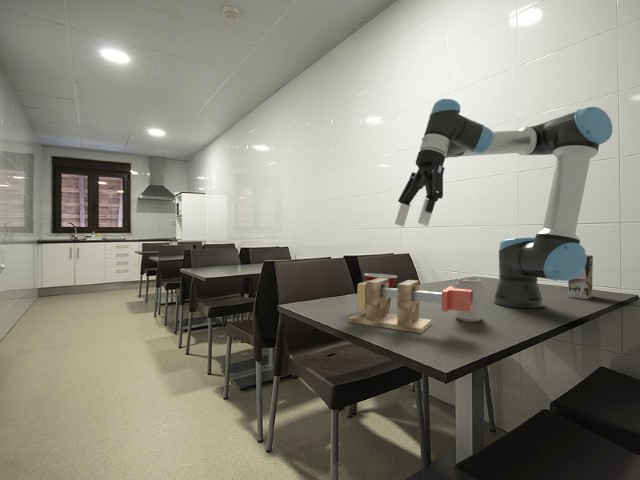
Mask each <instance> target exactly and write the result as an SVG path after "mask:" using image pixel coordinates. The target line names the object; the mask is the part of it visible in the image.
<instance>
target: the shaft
mask: <svg viewBox="0 0 640 480" xmlns="http://www.w3.org/2000/svg"><path fill="white" fill-rule="evenodd" d="M356 288H357V289H356V290H357V291H356V292H357V296H358V286H357V287H356ZM381 297H385V298H391V299H397V287H396V288H395V287H393V288H385V287H381ZM412 300H414V301H419V302H423V303H424V302H425V303H433V304H434V303H435V304H441V312H444V313H448V311H449V310H450V311H456V310H458V311H467V312H471V311H472V310H473V290H467V289H456V287H455V286H453V285H452V286H450V285H449V286H448V287H447V288H445V289H443V290H442V291H441V292H440V291H428V290H420V289H419V290H412Z"/></svg>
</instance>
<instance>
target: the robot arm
mask: <svg viewBox="0 0 640 480" xmlns="http://www.w3.org/2000/svg"><path fill="white" fill-rule="evenodd" d="M461 107H462V106H461V104H460V103H459V102H458V101H457V100H455V99H452V98H441V99H439V100H436V102H434V105H433V106H432V109H431V112H430V114H429V116H428V122H427V124H426V128H425V131H424V135H423V137H422V138H421V144H420V148H419V151H418V152H417V153H418V154H417V156H416V159H415V165H416V166H417V167H418V168H417V169H418V170H417V172H414V171H412V172H411V173H410V177H409V179H408V181H407V183H406V185H405V187H404V188H403V190H402V192H401V194H400V196H399V198H398V200H397V202H398V203H399V204H400V205H399V210H398V211H397V216H396V219H395V222H394V224H395V225H396V226H400V227H405V224H406V220H407V217H408V214H409V211H410V207H411V202H412V201H413V200H414V198H415V197H416V196H417V194H418V193H419V192H420V190H423V188H424V187H425V193H426V195H425V196H424V197H425V199H424V201H423V205H422V207H421V211H420V214H419V218H418V221H417V223H418V224H421V225H423V226H426V227H428V226H429V224H430V221H431V218H432V215H433V212H434V207H435V204H436V202H438V200H439V199H440V200H441V199H443V197H444V172H445V167H444V164H445V160H446V159H448V158H458V157H471V156H472V157H473V156H486V155H487V156H489V155H490V156H492V155H504V154H519V155H520V156H545V155H546V156H547V155H548V156H549V155H553V157H555V158H556V160H555V161H556V162H555V167H554V171H553V176H552V177H553V178H552V181H551V187H550V191H549V196H548V202H547V207H546V210H545V211H546V212H545V216H544V222H543V224H542V225H543V226H542V230H541V231H538V232H537V233H535V236H534V237H518V238H517V237H516V238H507V239H503V240H501V241H500V243H499V249H498V261H499V262H498V273H499V274H498V278H499V279H498V283H497V286H496V289H495V292H494V294H493V304H494V303H495V304H496V305H500V306H503V307H512V308H517V309H519V308H521V309H539V308H542V307H543V306H544V299H543V296H542V293H541V290H540V287H539V285H538V278H541V279H545V280H551V281H554V282H556V281H561V282H562V281H563V282H564V281H565V282H568V280H572V279H574V278H575V277H577V276H579V275H580V274H581V272H582V271H583V270H584V268H585V265H586V262H587V253H586V249H585V248H584V246H582V245H581V239H580V238H579V237H578V235H577V234H576V232H577V228H578V227H577V226H578V222H579V216H580V211H581V207H582V203H583V197H584V193H585V186H586V181H587V178H588V173H589V172H588V171H589V167H590V163H591V162H590V161H591V159H592V158H594V157H596V156H597V155H598V152H599V149H600V148H599V147H600V145H603V144H604V143H607V141H608V140H610V138H611V137H612V135H613V123H612V121H611V118H610V117H609V114H608V113H607V112H606V111H605V110H604V109H602V108H601V107H597V106H588V107H585V108H579V109H577V110H576V111H574V112H570V113H567V114H565V115H562V116H559V117H556V118H553V119H550V120H547V121H545V122H542V123H540V124H536V125H532V126H524V127H522V128H520V129H519V130H518V129H517V130H501V131H493V130H492V129H491V128H489V127H487V126H485V125H484V124H482V123H480V122H477V121H476V120H473V119H470V118H468V117H466V116H464V115H463V114H460V113H461V109H462V108H461Z"/></svg>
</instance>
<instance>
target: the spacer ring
mask: <svg viewBox="0 0 640 480" xmlns="http://www.w3.org/2000/svg"><path fill="white" fill-rule="evenodd" d="M366 282H367V281H363V282H359V283H357V287H358V295H357V310H358V311H359V310H360V311H366Z"/></svg>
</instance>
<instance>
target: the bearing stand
mask: <svg viewBox="0 0 640 480" xmlns="http://www.w3.org/2000/svg"><path fill="white" fill-rule="evenodd" d="M365 282H366V281H365ZM381 287H385V288H389V278H377V279H374V280H371V281H367V282H366V311H365V310H361V311H360V312H358V313H356V314H354V315H352V316H350V317H348V323H354V324H359V325H367V326H372V327H373V326H374V327H379V328H386V329H393V330H399V331H405V332H410V333H411V332H413V333H418V334H422V333H424V332H425V331H426V330H427V329H428V328H429V327H431V326H432V325H433V324H432V323H433V322H432V321H433V320H432V319H429V318H421V317H420V301H414V300H412V290H419V291H420V280H415V279H408V280H405V281H402V282H399V283H397V287H396V289H397V301H396V303H397V304H396V305H397V311H396V312H397V313H396V314H391V313H390V308H389V298H385V297H381Z"/></svg>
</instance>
